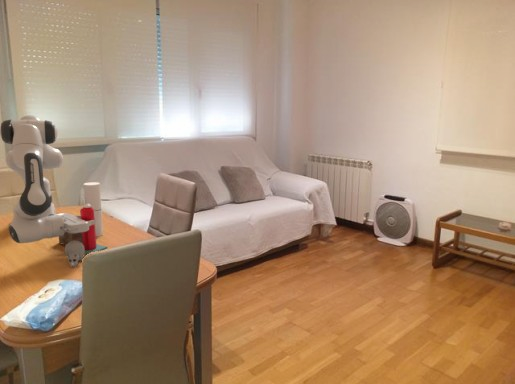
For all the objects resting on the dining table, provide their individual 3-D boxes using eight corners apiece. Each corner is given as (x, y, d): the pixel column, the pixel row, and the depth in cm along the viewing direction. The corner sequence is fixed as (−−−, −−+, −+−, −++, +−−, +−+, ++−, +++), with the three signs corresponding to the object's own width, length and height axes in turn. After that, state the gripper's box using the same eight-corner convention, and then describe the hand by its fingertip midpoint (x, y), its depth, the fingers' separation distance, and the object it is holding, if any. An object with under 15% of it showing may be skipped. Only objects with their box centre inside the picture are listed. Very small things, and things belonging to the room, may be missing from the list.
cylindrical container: (97, 237, 191) (94, 185, 186) (83, 236, 192) (80, 184, 187) (105, 232, 198) (102, 182, 192) (92, 231, 199) (89, 181, 194)
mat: (72, 250, 173) (72, 249, 173) (91, 244, 182) (91, 242, 182) (88, 255, 169) (88, 253, 168) (107, 248, 177) (107, 246, 177)
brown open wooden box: (59, 242, 182) (58, 230, 181) (78, 236, 191) (77, 224, 190) (74, 246, 178) (73, 233, 177) (92, 240, 187) (92, 227, 185)
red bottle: (98, 245, 178) (95, 201, 174) (94, 250, 172) (91, 204, 168) (85, 246, 177) (82, 201, 173) (81, 250, 172) (77, 204, 168)
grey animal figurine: (63, 274, 156) (59, 258, 151) (68, 253, 165) (64, 237, 160) (83, 272, 157) (80, 256, 153) (87, 251, 167) (84, 236, 162)
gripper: (66, 223, 155) (100, 217, 165) (46, 213, 169) (79, 207, 179) (67, 239, 157) (101, 231, 167) (47, 227, 170) (80, 221, 180)
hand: (89, 219), depth 173 cm, fingers open, 8 cm apart
